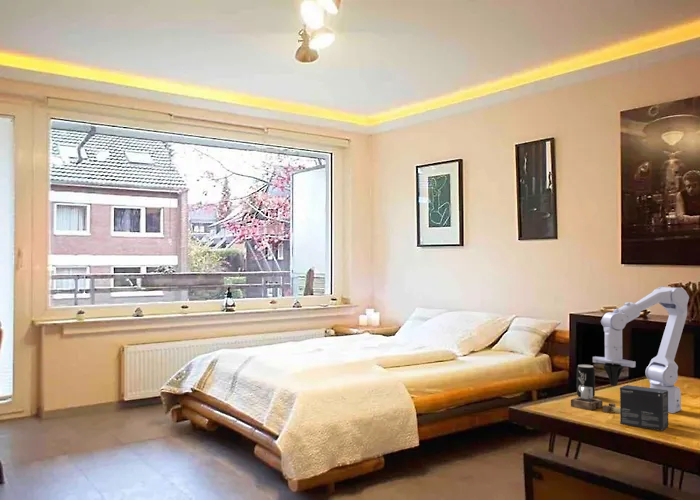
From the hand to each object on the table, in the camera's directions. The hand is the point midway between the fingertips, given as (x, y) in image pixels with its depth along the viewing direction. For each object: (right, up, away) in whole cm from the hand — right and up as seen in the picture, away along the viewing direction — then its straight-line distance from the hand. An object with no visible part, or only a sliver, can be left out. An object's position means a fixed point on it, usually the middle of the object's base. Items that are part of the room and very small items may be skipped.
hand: (613, 385), depth 215 cm
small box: (+2, -9, -18) cm, 20 cm away
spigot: (-7, -9, +7) cm, 14 cm away
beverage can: (-1, -10, +24) cm, 26 cm away
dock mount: (-5, -9, +5) cm, 12 cm away
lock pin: (+1, -9, -1) cm, 9 cm away
